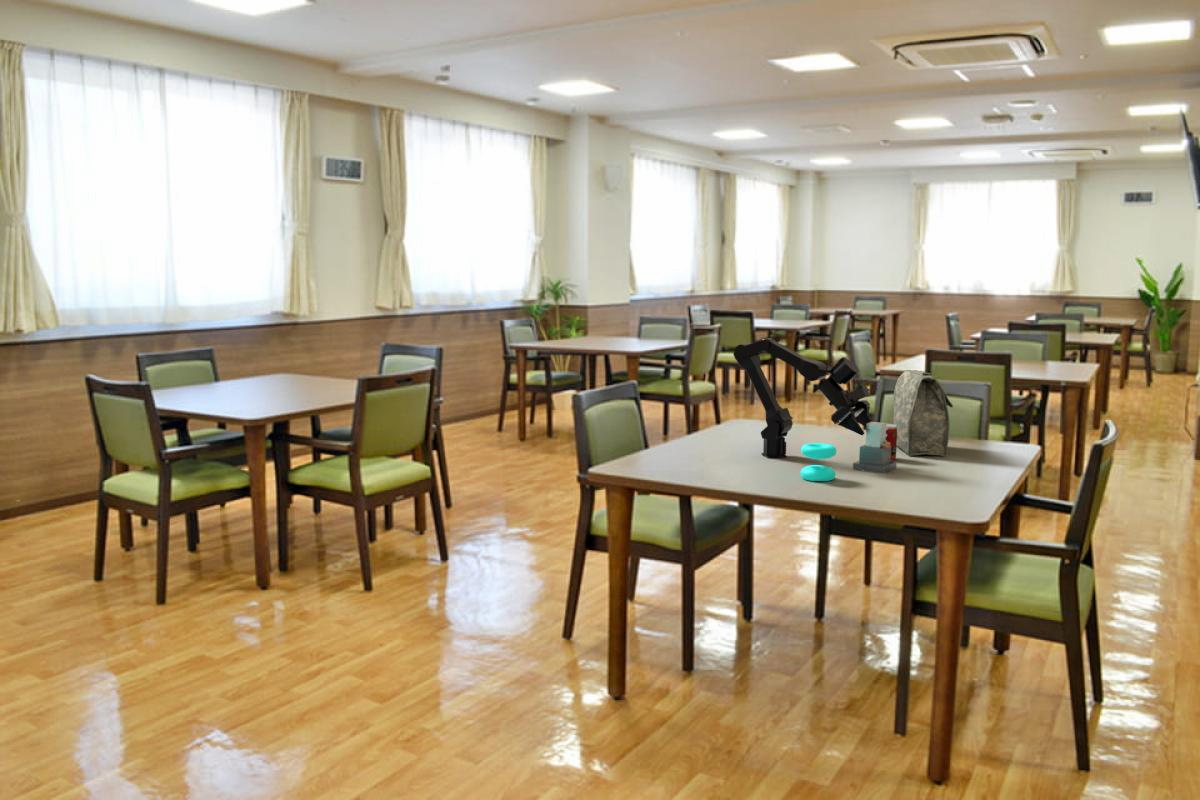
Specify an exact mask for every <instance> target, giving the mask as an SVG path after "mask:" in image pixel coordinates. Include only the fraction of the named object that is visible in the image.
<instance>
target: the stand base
mask: <svg viewBox="0 0 1200 800" xmlns="http://www.w3.org/2000/svg"><path fill="white" fill-rule="evenodd" d="M890 444H891V442H886V443H885V445H884V447H883V448H872V447H866V443H865V444H863V445H860V446H859V459H858V460H857V461H854V462H852V470H853V469H856V470H855V471H861V470H864V471H863V472H869V471H871V472H872V473H877V472H878V473H879V474H887V473H889V472H890V471H892V470H894V469H896V468H897V462H898V461H896V460H893V461H891V446H890ZM871 472H870V473H871Z"/></svg>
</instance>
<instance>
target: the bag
mask: <svg viewBox="0 0 1200 800" xmlns="http://www.w3.org/2000/svg"><path fill="white" fill-rule="evenodd" d="M948 407H950V408H954V405H953V403H952V402H951V401H950V399H949V397H948V396H947V393H946V392H945V390H944V388H943V386H942V385H941V383H940V381H939V380H938V379H936V378H935V377H934V376H932V375H931V373H930V372H925V371H923V370H917V369H915V370H914V369H913V370H911V369H905V370H904V371H903V372H902V373H901V374H900V376H899V377H898V378H897V381H896V383H895V386H894V391H893V425H897V447H896V448H898V449H901V450H902V451H903V452H905V453H906V454H907V455H908V456H909V457H913V456H922V455H929V456H940V457H943V456H947V457H948V455H949V454H948V445H949V440H950V439H949V437H950V436H949V435H950V426H951V425H950V423H951V421H950V415H949V409H948Z"/></svg>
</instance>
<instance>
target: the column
mask: <svg viewBox="0 0 1200 800" xmlns="http://www.w3.org/2000/svg"><path fill="white" fill-rule="evenodd" d="M886 424H887V423H886V422H878V421H872V422H870V423H867V425H866V427H865V428H866V430H865V444H866V447H872V448H883V447H884V445H885V443H886V442H887V440H886V436H887V434H886V430H887V427H886Z"/></svg>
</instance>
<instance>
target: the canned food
mask: <svg viewBox="0 0 1200 800" xmlns="http://www.w3.org/2000/svg"><path fill="white" fill-rule="evenodd" d="M886 427H887V430H886V434H887V436H886V440H887V442H891V444H890V446H891V460H893V461H896V458H897V448H898V447H897V425H893V424H892V423H886Z"/></svg>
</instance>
